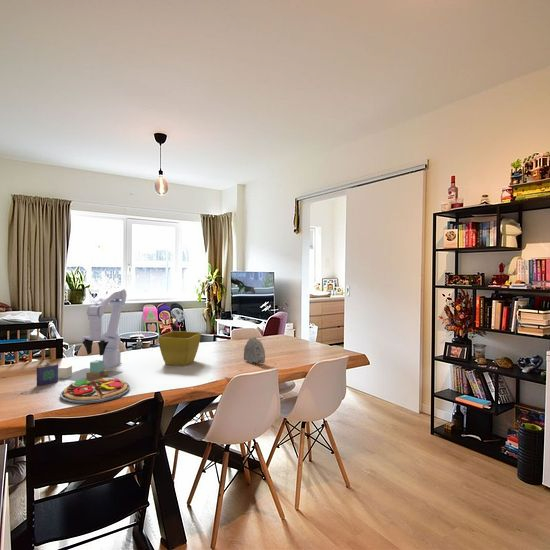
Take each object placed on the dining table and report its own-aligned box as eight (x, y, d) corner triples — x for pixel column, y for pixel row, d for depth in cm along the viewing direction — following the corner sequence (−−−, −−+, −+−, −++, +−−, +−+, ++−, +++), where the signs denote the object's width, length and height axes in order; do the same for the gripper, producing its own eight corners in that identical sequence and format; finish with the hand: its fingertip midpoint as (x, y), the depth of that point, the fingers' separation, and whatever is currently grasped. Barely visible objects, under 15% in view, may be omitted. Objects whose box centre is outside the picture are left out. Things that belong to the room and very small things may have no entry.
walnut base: (96, 374, 187) (96, 368, 187) (108, 375, 185) (108, 370, 185) (86, 378, 180) (86, 372, 180) (98, 379, 178) (98, 373, 178)
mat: (85, 368, 199) (85, 368, 199) (123, 372, 192) (123, 371, 192) (55, 379, 179) (55, 378, 179) (95, 383, 173) (95, 383, 173)
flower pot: (187, 368, 203) (188, 338, 202) (156, 365, 207) (157, 336, 206) (201, 359, 221) (201, 332, 221) (172, 357, 225) (172, 330, 225)
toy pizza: (64, 409, 142) (64, 398, 142) (57, 389, 164) (57, 379, 164) (137, 395, 158) (137, 385, 158) (121, 378, 180) (121, 370, 180)
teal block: (96, 369, 185) (96, 360, 185) (104, 370, 184) (104, 360, 184) (89, 372, 181) (90, 362, 180) (97, 373, 179) (97, 363, 179)
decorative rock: (242, 360, 221) (242, 336, 220) (251, 359, 224) (252, 335, 224) (257, 366, 207) (257, 340, 207) (266, 365, 211) (267, 339, 211)
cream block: (63, 375, 185) (63, 365, 185) (71, 375, 185) (71, 365, 185) (57, 377, 180) (57, 367, 180) (66, 378, 180) (66, 368, 180)
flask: (56, 381, 176) (56, 359, 176) (59, 382, 175) (59, 360, 174) (35, 386, 169) (35, 363, 169) (38, 387, 167) (38, 364, 167)
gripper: (77, 329, 186) (77, 355, 187) (102, 330, 183) (101, 357, 183) (88, 326, 193) (88, 352, 194) (111, 328, 190) (111, 354, 190)
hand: (95, 354), depth 189 cm, fingers open, 7 cm apart
